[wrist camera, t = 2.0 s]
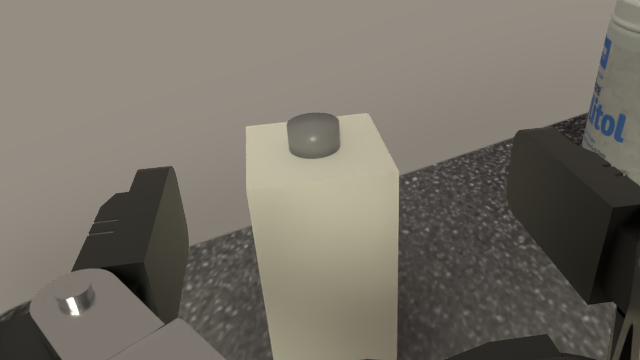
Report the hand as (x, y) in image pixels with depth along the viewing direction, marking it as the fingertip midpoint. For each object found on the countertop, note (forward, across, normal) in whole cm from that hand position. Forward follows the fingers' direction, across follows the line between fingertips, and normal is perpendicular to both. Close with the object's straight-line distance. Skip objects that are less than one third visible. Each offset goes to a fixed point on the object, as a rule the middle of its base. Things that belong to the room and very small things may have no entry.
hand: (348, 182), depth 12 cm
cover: (+12, 0, +16) cm, 20 cm away
